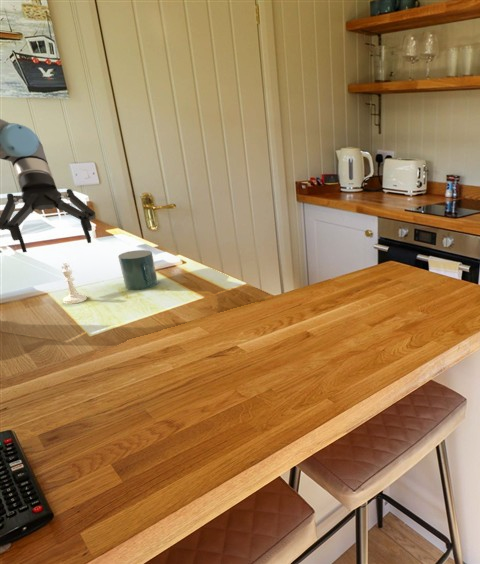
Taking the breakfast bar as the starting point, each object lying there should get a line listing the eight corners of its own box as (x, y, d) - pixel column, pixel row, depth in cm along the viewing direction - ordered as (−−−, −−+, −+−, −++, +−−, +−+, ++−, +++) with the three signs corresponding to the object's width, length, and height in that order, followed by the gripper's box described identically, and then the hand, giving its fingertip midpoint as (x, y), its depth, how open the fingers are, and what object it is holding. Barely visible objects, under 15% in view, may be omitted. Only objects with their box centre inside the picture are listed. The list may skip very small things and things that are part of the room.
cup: (120, 285, 119) (113, 254, 116) (150, 277, 125) (144, 248, 122) (136, 294, 113) (129, 262, 110) (166, 285, 119) (160, 255, 116)
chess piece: (58, 302, 107) (47, 265, 104) (76, 295, 112) (66, 259, 108) (74, 304, 106) (63, 267, 103) (91, 297, 111) (82, 261, 107)
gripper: (91, 184, 126) (113, 243, 121) (-24, 192, 110) (-3, 261, 105) (90, 167, 120) (113, 229, 116) (-31, 173, 104) (-10, 245, 100)
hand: (58, 244), depth 110 cm, fingers open, 13 cm apart
